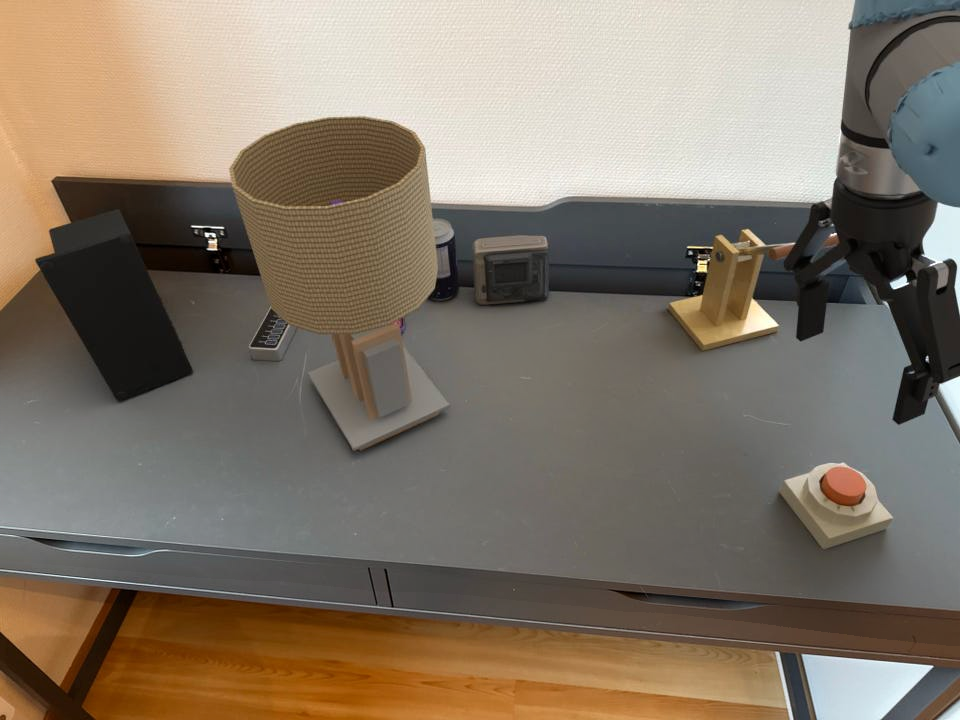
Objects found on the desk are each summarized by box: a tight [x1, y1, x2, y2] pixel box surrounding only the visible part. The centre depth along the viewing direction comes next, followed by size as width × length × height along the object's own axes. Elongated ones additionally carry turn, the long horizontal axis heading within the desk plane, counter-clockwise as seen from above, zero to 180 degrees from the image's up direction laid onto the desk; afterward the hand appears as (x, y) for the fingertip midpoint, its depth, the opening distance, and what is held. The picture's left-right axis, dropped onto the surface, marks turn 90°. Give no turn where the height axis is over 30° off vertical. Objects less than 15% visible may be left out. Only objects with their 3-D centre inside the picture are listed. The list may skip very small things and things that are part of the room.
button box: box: [778, 462, 894, 550], centre depth 77 cm, size 8×8×4 cm
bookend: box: [34, 208, 194, 402], centre depth 98 cm, size 23×11×24 cm, turn 31°
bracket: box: [667, 228, 780, 352], centre depth 98 cm, size 10×12×14 cm
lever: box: [731, 232, 839, 262], centre depth 88 cm, size 16×9×2 cm
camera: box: [471, 234, 550, 306], centre depth 106 cm, size 11×6×10 cm, turn 92°
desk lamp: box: [228, 115, 451, 452], centre depth 82 cm, size 20×20×35 cm
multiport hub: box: [248, 306, 298, 362], centre depth 106 cm, size 4×14×2 cm, turn 172°
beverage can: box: [428, 218, 460, 301], centre depth 107 cm, size 6×6×12 cm
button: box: [821, 466, 866, 506], centre depth 76 cm, size 4×4×2 cm
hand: (855, 373), depth 69 cm, fingers open, 13 cm apart
